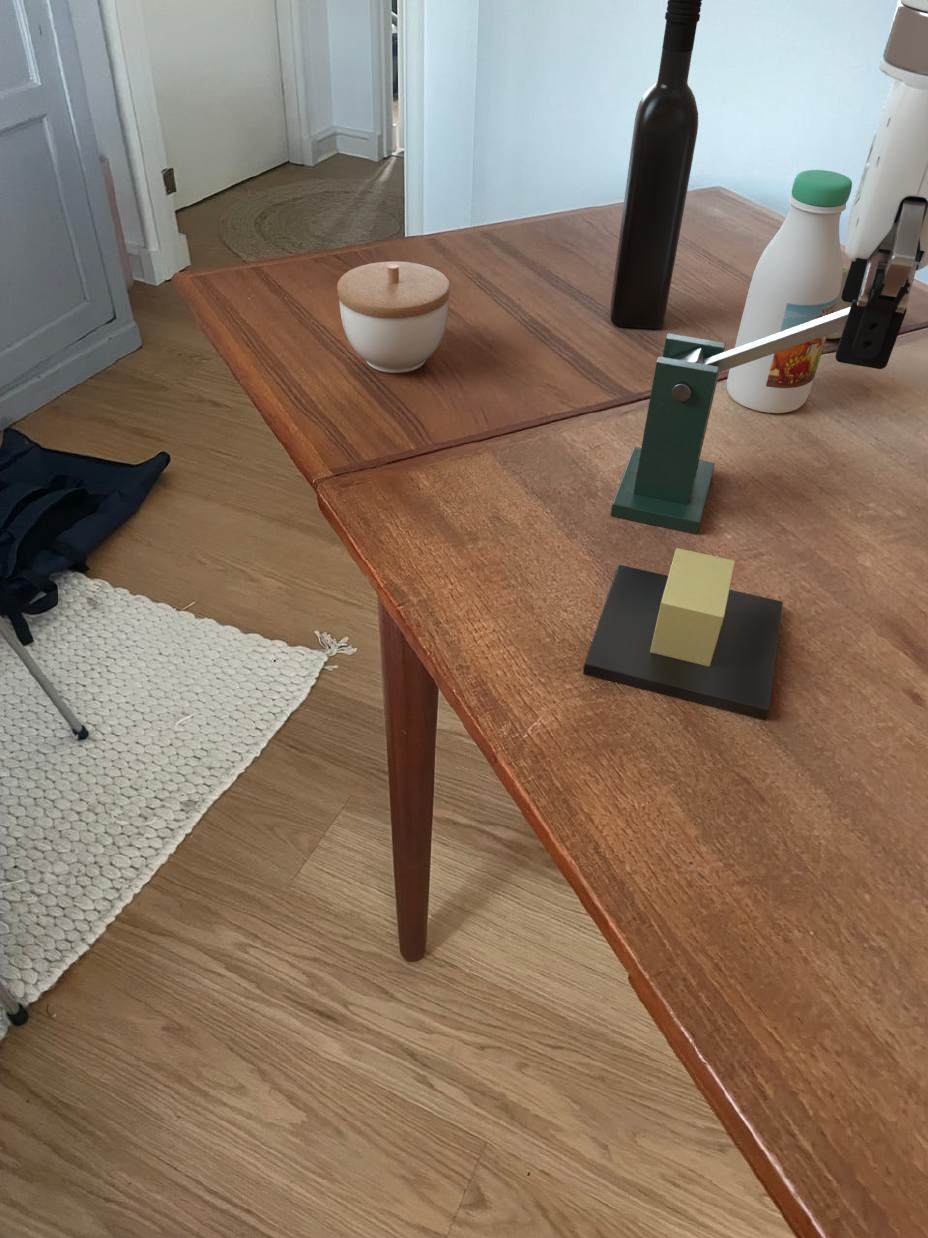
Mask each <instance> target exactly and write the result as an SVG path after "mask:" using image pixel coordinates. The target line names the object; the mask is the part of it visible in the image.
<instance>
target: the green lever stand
mask: <svg viewBox="0 0 928 1238" xmlns="http://www.w3.org/2000/svg"><path fill="white" fill-rule="evenodd" d="M726 344H727V343H726V342H723V341H716V340H710V339H704V338H698V337H692V336H687V335H681V334H675V333H667V335H666V338H665V340H664V347H663V352H662V356H658V357H657V360H656V363H655V369H654V374H653V380H652V385H651V390H650V395H649V396H650V397H649V402H648V407H647V413H646V420H645V425H644V429H643V430H644V431H643V435H642V443H641V447H637V446H634V447H633V448H632V452H631V454H630V457H629V459H628V462H627V464H626V467H625V469H624V472H623V475H622V478H621V480H620V483H619V486H618V488H617V490H616V494H615V497H614V499H613V501H612V504H611V510H610V516H611V517H614V518H619V519H624V520H629V521H634V522H638V523H643V524H648V525H653V526H657V527H662V528H666V529H671V530H675V531H681V532H685V533H689V534H694V535H697V534H698V533H699V529H700V525H701V521H702V518H703V517H702V516H703V514H704V513H703V512H704V510H705V505H706V501H707V497H708V493H709V489H710V485H711V481H712V479H713V478H712V477H713V474H714V470H715V465H716V463H715V461H708V460H703V459H700V458H701V454H702V449H703V445H704V442H705V441H704V440H705V436H706V433H707V429H708V423H709V419H710V415H711V410H712V406H713V401H714V397H715V394H716V388H717V384H718V381H719V375H720V372H719V373H718V370H719V367H717V366H711V365H706V364H700V363H694V362H688V361H682V360H677V359H672V358H675V357H678V356H681V355H683V354H686V353H689V352H691V351H694V350H697V349H700V348H701V349H702V351H703V353H704V356H705V358H709V357H712V356H715V355H717V354H720V353H723V352H725V349H726Z"/></svg>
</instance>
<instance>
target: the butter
mask: <svg viewBox="0 0 928 1238" xmlns="http://www.w3.org/2000/svg"><path fill="white" fill-rule="evenodd" d="M735 564H736V561H735V560H733V559H729V558H725V557H719V556H715V555H710V554H706V553H701V552H697V551H693V550H688V549H683V548H678V547H676V548H675V550H674V554H673V558H672V562H671V565H670V567H669V572H668V575H667V576H668V579H667V583H666V586H665V590H664V594H663V597H662V601H661V605H660V609H659V614H658V618H657V623H656V627H655V632H654V636H653V641H652V645H651V650H650V652H651V653H655V654H659V655H663V656H668V657H672V658H676V659H680V660H684V661H688V662H692V663H696V664H700V665H704V666H708V667H709V666H710V664H711V661H712V657H713V654H714V651H715V647H716V644H717V640H718V637H719V633H720V630H721V626H722V623H723V619H724V615H725V610H726V605H727V600H728V595H729V590H731V586H732V579H733V575H734V570H735Z"/></svg>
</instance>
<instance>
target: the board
mask: <svg viewBox="0 0 928 1238" xmlns="http://www.w3.org/2000/svg"><path fill="white" fill-rule="evenodd" d="M668 576H669V575H668V574H662V573H657V572H654V571H649V570H645V569H641V568H635V567H631V566H626V565H624V564H618V565H617V567H616V571H615V573H614V576H613V579H612V583H611V585H610V588H609V591H608V593H607V598H606V599H605V603H604V605H603V608H602V611H601V614H600V617H599V619H598V623H597V626H596V628H595V632H594V634H593V637H592V641H591V642H590V643H591V644H590V647H589V649H588V652H587V655H586V658H585V660H584V663H583V671H582V673H583V675H586V676H590V677H595V678H598V679H603V680H607V681H609V682H613V683H618V684H622V685H626V686H629V687H632V688H633V687H635V688H637V689H641V690H645V691H650V692H654V693H657V694H661V695H665V696H669V697H674V698H678V699H680V700H685V701H689V702H693V703H696V704H701V705H705V706H708V707H713V708H717V709H721V710H725V711H729V712H733V713H736V714H740V715H744V716H748V717H752V718H756V719H760V720H765V721H766V719H767V717H768V714H769V711H770V704H771V698H772V689H773V682H774V675H775V666H776V659H777V652H778V645H779V638H780V637H779V636H780V629H781V622H782V614H783V606H784V601H782V600H778V599H773V598H768V597H765V596H760V595H755V594H751V593H748V592H747V593H746V592H742V591H737V590H735V589H734V590H733V589H730V590H729V595H728V600H727V605H726V610H725V615H724V619H723V623H722V626H721V630H720V633H719V637H718V640H717V644H716V647H715V651H714V654H713V657H712V661H711V664H710V666H709V667H708V666H704V665H700V664H696V663H692V662H688V661H684V660H680V659H676V658H672V657H668V656H663V655H659V654H655V653H651V652H650V650H651V645H652V641H653V636H654V632H655V627H656V623H657V618H658V614H659V609H660V605H661V601H662V597H663V594H664V590H665V586H666V583H667V579H668Z"/></svg>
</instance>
